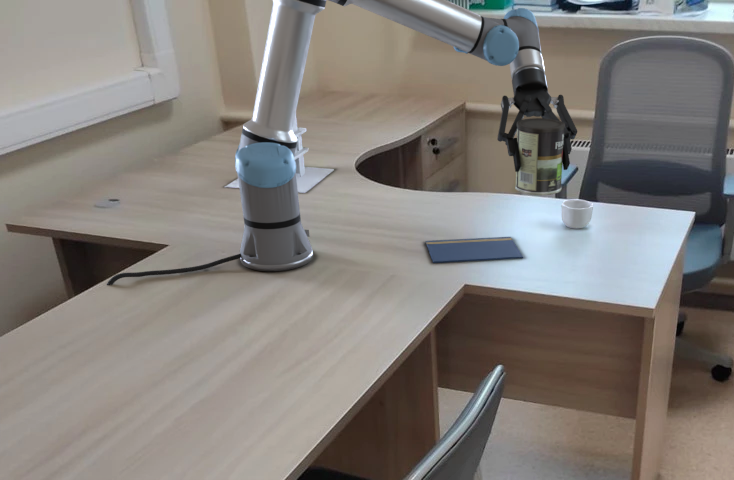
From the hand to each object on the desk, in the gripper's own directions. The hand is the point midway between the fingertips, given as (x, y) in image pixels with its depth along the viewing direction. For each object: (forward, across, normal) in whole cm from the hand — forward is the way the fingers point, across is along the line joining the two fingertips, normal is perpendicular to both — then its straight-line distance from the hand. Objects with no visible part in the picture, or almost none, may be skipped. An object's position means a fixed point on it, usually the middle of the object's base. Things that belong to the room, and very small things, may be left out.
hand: (542, 167), depth 180 cm
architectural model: (-34, +58, -61) cm, 90 cm away
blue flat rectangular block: (+11, +14, -16) cm, 24 cm away
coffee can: (+2, 0, -6) cm, 6 cm away
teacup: (+2, -14, -26) cm, 29 cm away
